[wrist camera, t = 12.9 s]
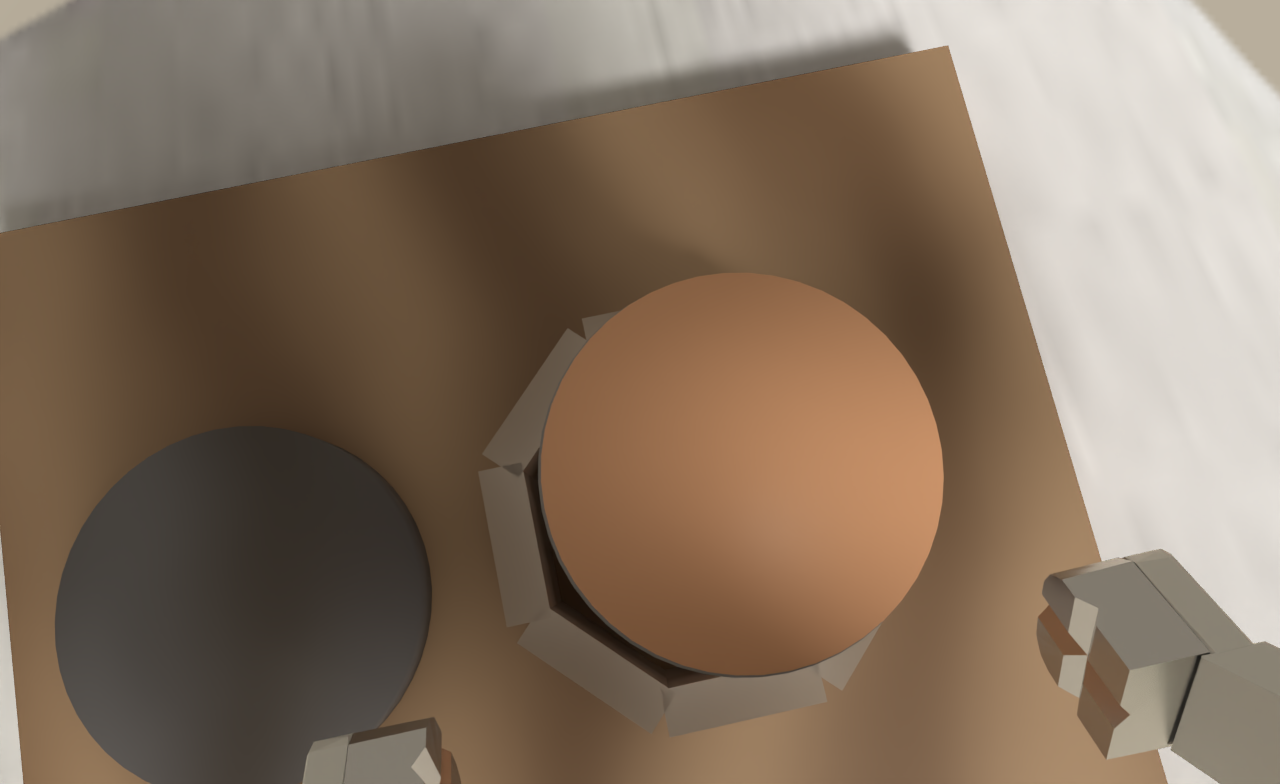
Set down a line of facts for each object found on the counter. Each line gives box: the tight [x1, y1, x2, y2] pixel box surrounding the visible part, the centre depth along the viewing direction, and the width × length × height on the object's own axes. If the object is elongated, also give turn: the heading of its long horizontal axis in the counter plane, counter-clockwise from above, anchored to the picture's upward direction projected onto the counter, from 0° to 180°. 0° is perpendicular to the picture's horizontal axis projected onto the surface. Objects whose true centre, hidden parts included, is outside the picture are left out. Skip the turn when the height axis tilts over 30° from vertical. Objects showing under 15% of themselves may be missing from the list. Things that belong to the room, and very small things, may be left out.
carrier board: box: [0, 46, 1168, 784], centre depth 18 cm, size 22×18×4 cm
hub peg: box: [538, 273, 944, 678], centre depth 14 cm, size 4×4×9 cm
